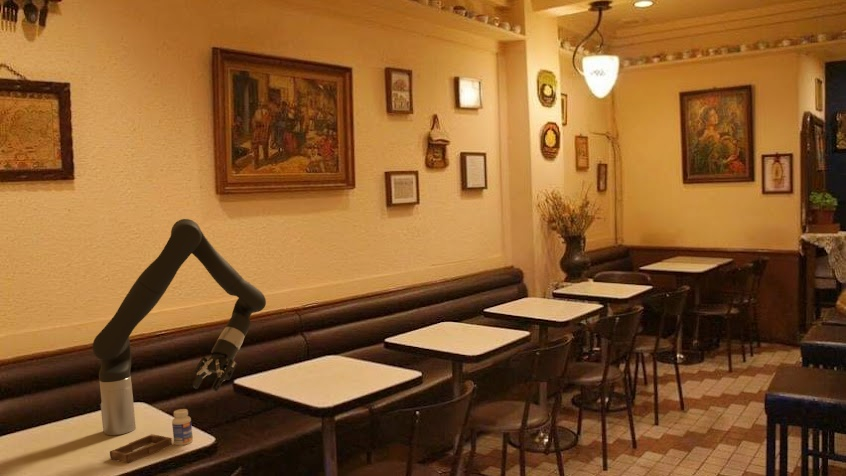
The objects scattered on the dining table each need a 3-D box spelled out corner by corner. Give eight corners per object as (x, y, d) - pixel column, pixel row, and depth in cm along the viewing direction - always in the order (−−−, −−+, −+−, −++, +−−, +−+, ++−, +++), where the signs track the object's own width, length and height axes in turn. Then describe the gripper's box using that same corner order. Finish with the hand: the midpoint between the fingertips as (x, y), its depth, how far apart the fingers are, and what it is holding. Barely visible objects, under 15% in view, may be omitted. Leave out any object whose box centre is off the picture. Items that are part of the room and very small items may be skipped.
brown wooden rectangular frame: (109, 458, 201) (108, 451, 201) (152, 441, 213) (151, 434, 213) (129, 463, 196) (128, 455, 196) (172, 445, 209) (171, 437, 208)
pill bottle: (187, 445, 207) (184, 413, 206) (170, 445, 208) (167, 413, 208) (196, 439, 212) (193, 407, 212) (180, 439, 214) (177, 407, 213)
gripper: (206, 336, 228) (180, 380, 219) (237, 339, 220) (212, 385, 211) (219, 349, 233) (195, 392, 224) (251, 351, 225) (227, 397, 216)
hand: (204, 388), depth 217 cm, fingers open, 8 cm apart
